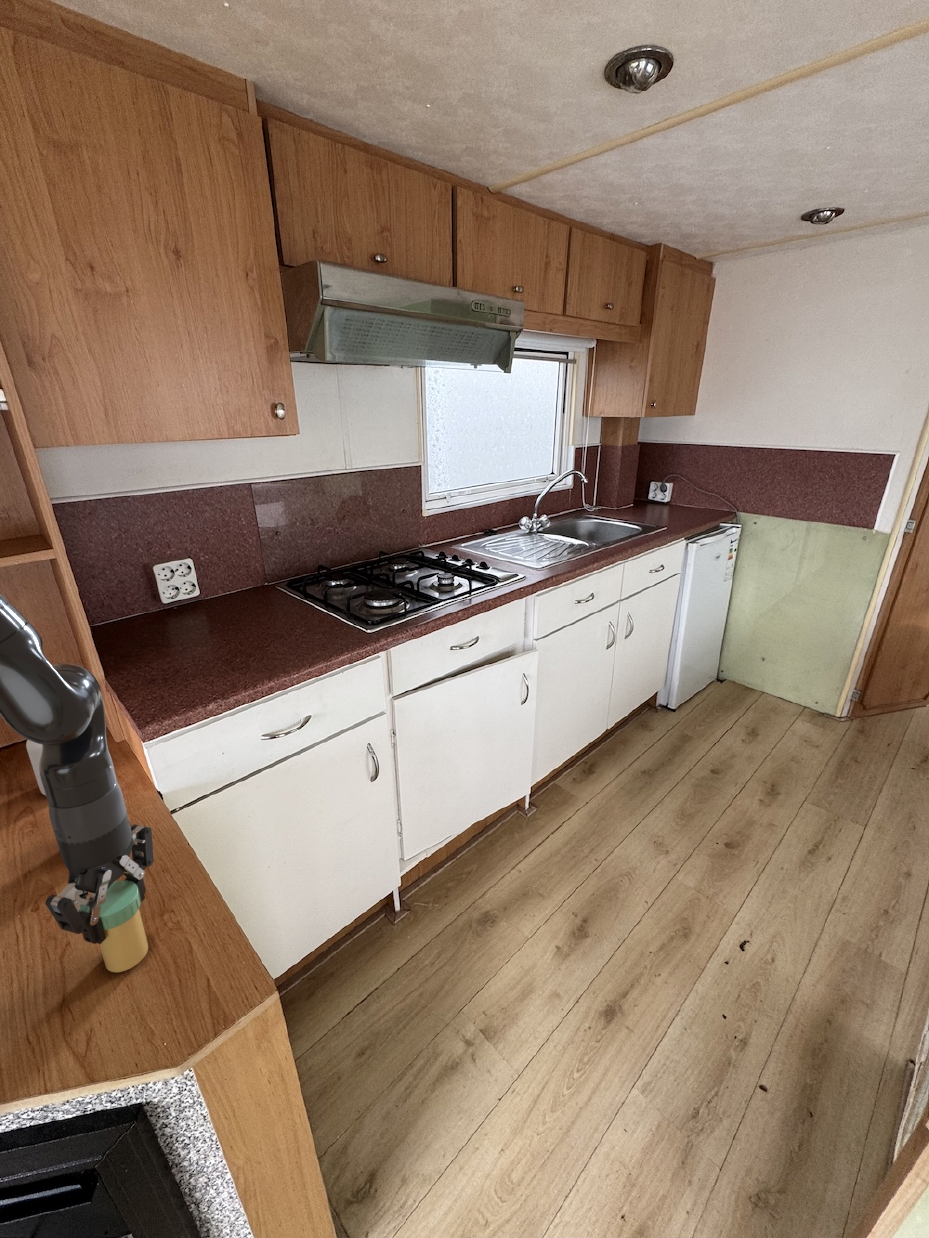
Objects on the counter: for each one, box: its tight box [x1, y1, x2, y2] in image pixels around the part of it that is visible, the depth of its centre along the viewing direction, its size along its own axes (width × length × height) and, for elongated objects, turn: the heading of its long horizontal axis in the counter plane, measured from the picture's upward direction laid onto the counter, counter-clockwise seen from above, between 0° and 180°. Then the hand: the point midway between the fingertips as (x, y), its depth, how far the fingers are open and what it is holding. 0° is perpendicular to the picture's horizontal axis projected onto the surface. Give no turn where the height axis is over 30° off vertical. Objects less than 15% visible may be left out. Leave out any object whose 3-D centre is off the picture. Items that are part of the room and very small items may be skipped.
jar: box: [98, 908, 149, 973], centre depth 73 cm, size 5×5×10 cm
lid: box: [87, 879, 142, 930], centre depth 72 cm, size 6×6×2 cm
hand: (118, 918), depth 73 cm, fingers closed on lid, 6 cm apart
